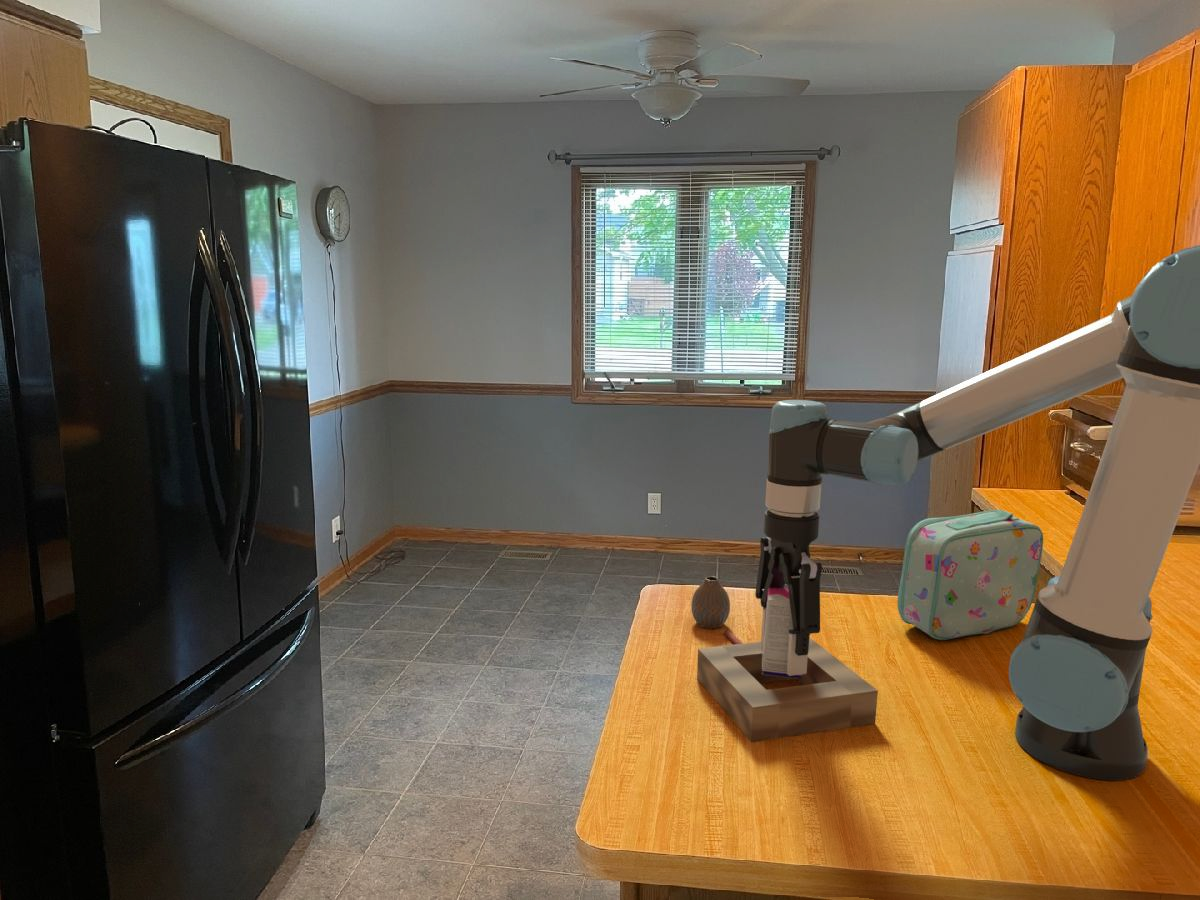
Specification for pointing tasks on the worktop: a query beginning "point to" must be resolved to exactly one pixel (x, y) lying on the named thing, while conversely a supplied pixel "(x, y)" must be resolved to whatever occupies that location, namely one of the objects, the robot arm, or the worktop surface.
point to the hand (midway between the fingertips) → (782, 661)
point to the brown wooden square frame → (785, 692)
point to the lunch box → (969, 573)
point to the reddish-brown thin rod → (732, 637)
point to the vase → (710, 604)
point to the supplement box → (777, 634)
